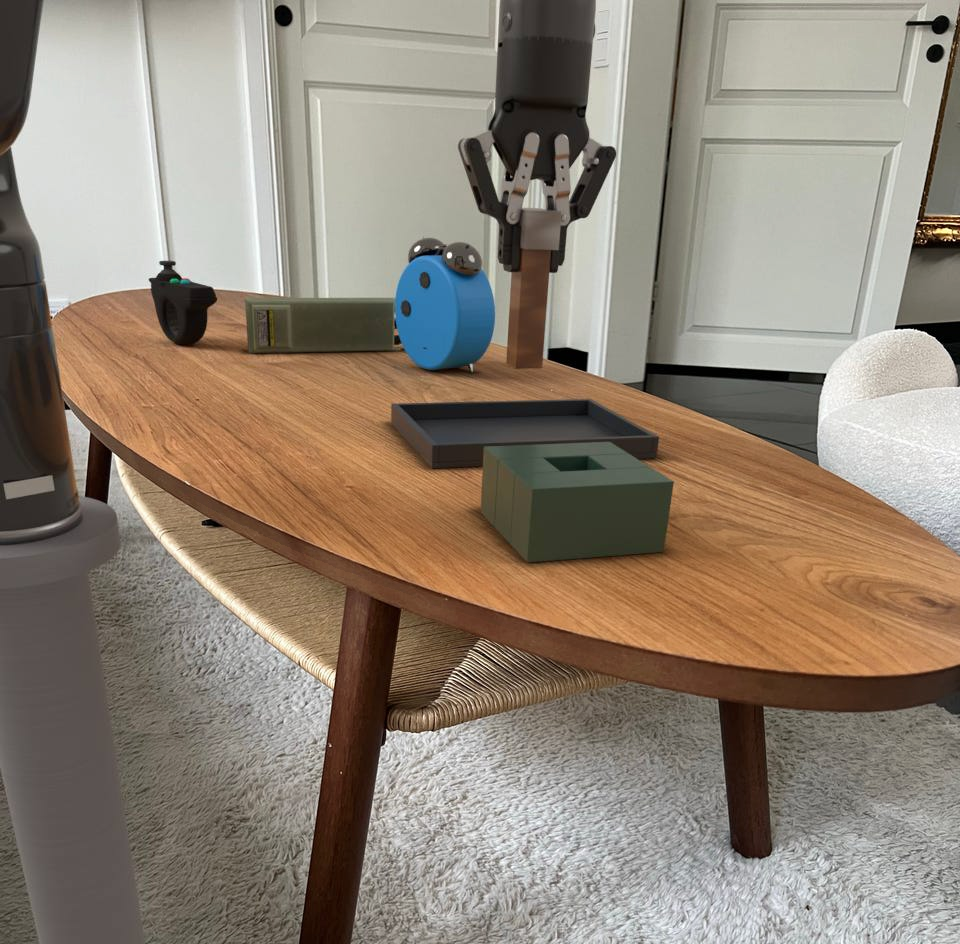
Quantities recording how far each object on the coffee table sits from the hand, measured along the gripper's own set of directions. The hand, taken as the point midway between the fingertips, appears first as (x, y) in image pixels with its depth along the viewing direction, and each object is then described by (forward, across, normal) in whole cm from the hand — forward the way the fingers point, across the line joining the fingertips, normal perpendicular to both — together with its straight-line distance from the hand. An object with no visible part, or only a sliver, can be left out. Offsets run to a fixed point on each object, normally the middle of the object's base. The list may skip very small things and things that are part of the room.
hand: (529, 270), depth 81 cm
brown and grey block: (+8, 0, 0) cm, 8 cm away
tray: (+15, 0, 0) cm, 15 cm away
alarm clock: (+15, -2, -34) cm, 37 cm away
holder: (+15, +5, +24) cm, 29 cm away
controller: (+15, +28, -52) cm, 61 cm away
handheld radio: (+15, +8, -47) cm, 50 cm away
